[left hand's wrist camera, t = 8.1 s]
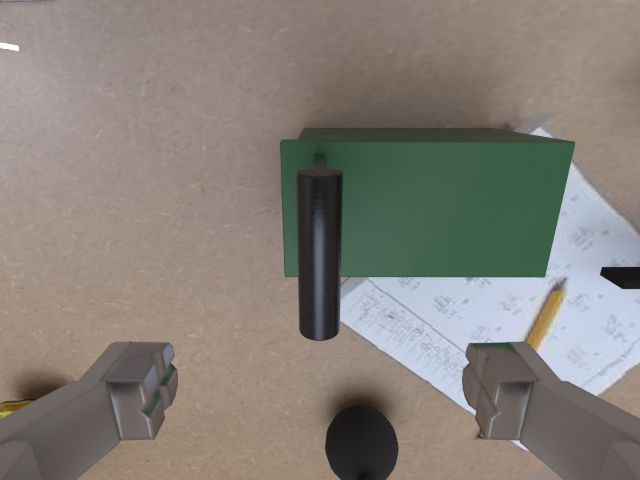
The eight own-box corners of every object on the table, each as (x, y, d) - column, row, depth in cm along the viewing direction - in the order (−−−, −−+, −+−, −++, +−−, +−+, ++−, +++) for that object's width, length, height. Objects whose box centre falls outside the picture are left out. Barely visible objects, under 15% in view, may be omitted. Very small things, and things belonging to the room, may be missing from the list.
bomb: (403, 403, 45) (431, 506, 33) (371, 449, 47) (387, 559, 36) (343, 380, 43) (351, 479, 32) (314, 429, 46) (312, 535, 35)
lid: (286, 269, 27) (269, 351, 18) (281, 139, 24) (259, 162, 15) (535, 269, 27) (638, 351, 18) (563, 139, 24) (705, 162, 15)
